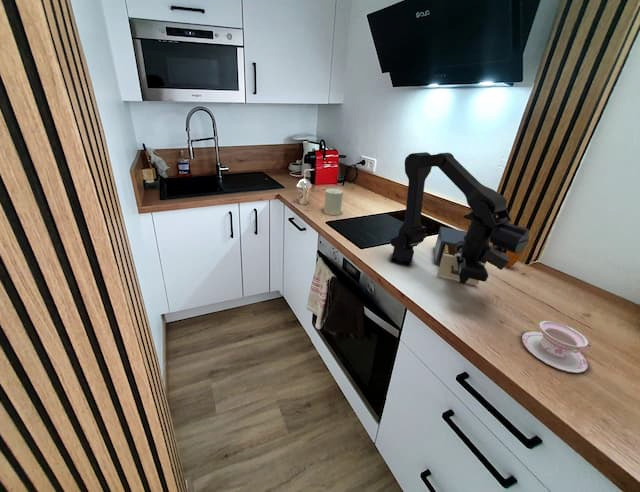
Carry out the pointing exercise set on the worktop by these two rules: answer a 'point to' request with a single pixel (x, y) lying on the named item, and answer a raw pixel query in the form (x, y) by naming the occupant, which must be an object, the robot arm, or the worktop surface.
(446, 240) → the cabinet
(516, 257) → the carrot
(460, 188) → the robot arm
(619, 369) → the worktop surface
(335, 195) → the can
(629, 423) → the worktop surface
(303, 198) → the cup with straw
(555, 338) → the teacup
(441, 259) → the drawer
